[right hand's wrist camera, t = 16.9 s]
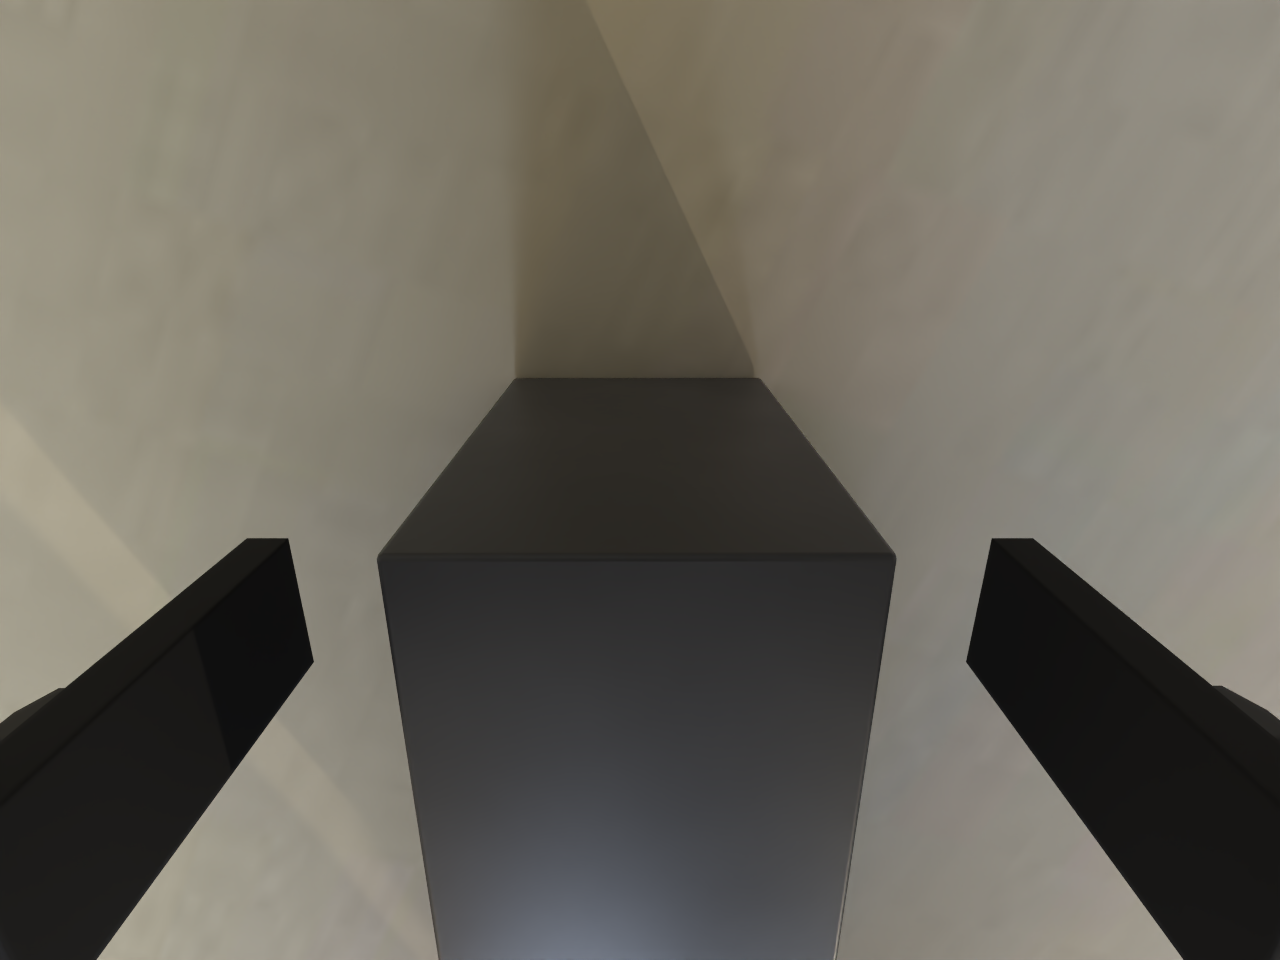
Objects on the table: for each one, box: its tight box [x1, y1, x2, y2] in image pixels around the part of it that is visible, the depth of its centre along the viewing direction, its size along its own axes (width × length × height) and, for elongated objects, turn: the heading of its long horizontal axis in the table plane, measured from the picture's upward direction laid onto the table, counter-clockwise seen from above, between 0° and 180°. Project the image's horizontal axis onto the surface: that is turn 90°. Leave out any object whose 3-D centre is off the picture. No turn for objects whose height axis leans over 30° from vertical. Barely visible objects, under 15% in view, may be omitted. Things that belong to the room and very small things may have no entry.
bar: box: [377, 378, 896, 960], centre depth 16 cm, size 24×6×9 cm, turn 0°
